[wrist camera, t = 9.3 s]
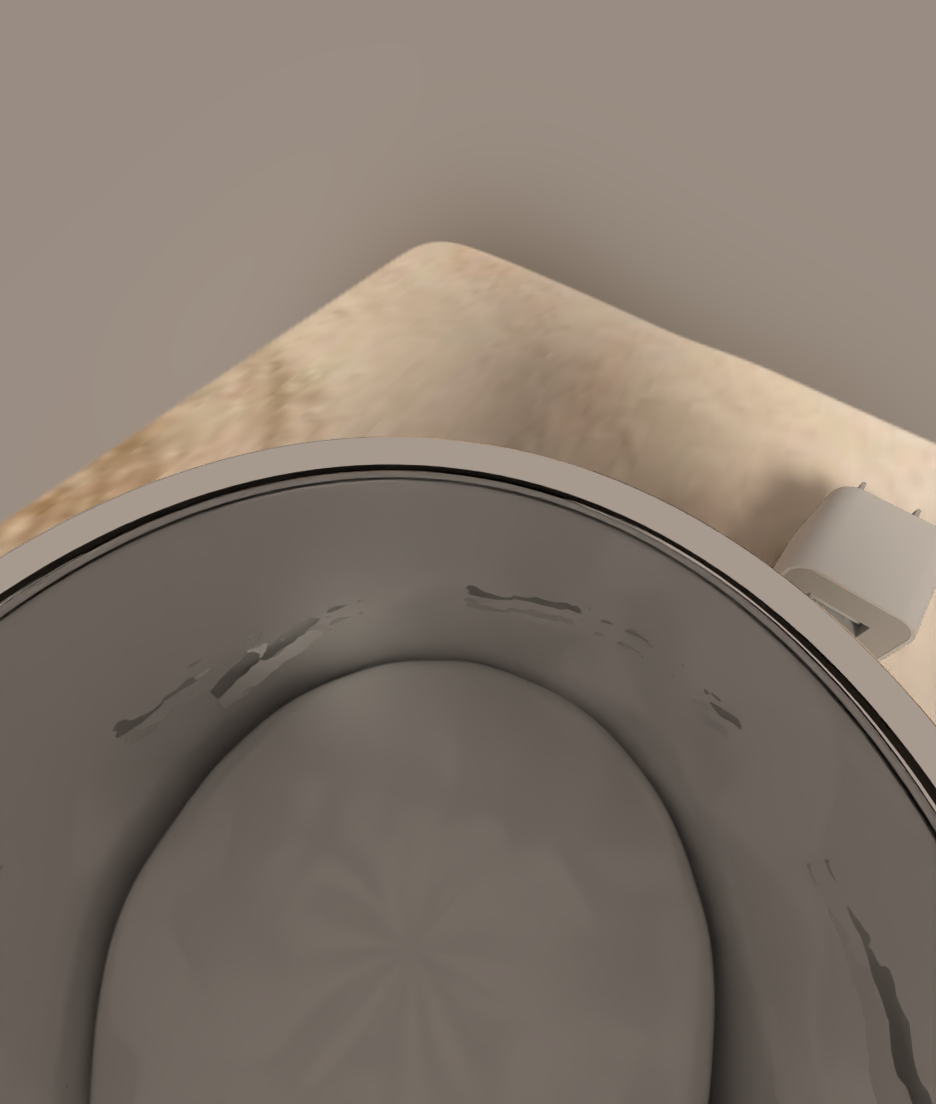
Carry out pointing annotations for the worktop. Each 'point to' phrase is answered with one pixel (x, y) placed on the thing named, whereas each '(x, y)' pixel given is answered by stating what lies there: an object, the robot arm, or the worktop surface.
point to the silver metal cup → (448, 800)
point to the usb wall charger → (865, 567)
